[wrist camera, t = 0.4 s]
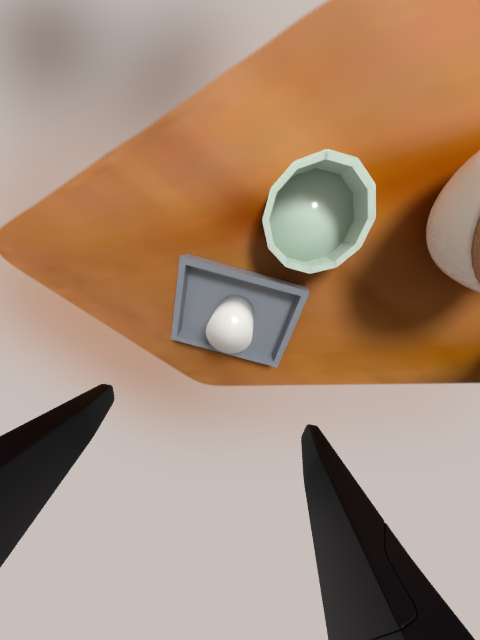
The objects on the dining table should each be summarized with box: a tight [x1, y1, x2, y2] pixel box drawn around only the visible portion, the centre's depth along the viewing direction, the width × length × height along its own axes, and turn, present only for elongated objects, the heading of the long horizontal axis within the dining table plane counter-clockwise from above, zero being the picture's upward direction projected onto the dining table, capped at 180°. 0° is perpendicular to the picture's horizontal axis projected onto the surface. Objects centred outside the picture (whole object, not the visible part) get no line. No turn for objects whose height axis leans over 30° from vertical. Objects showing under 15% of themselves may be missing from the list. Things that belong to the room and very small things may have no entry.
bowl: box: [262, 149, 376, 274], centre depth 16 cm, size 8×8×3 cm
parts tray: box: [171, 253, 310, 368], centre depth 21 cm, size 12×9×2 cm
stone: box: [206, 294, 254, 354], centre depth 19 cm, size 4×4×4 cm
